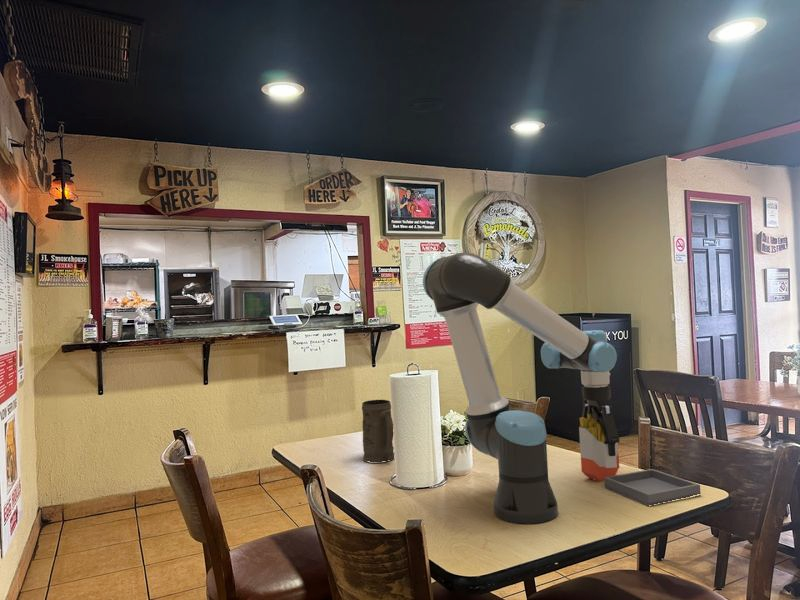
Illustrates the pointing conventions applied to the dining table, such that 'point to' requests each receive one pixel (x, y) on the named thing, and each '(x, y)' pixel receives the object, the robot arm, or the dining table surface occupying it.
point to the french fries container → (594, 450)
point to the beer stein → (377, 431)
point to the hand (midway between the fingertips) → (600, 460)
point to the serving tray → (651, 486)
